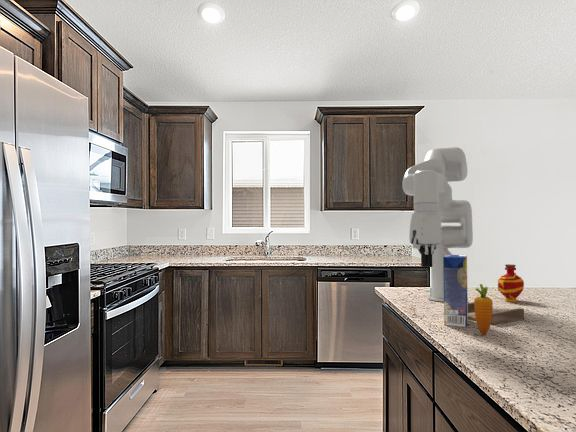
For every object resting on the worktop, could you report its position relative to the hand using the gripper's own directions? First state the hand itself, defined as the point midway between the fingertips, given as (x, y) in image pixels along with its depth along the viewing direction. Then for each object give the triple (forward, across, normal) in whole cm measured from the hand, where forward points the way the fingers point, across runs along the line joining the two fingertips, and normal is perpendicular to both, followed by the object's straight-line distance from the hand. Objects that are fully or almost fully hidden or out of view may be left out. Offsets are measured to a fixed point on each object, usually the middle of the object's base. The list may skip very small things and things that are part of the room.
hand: (426, 266), depth 139 cm
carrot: (+20, -7, +16) cm, 26 cm away
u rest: (+19, -29, 0) cm, 34 cm away
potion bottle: (+18, -65, -16) cm, 69 cm away
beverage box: (+19, -14, 0) cm, 24 cm away
